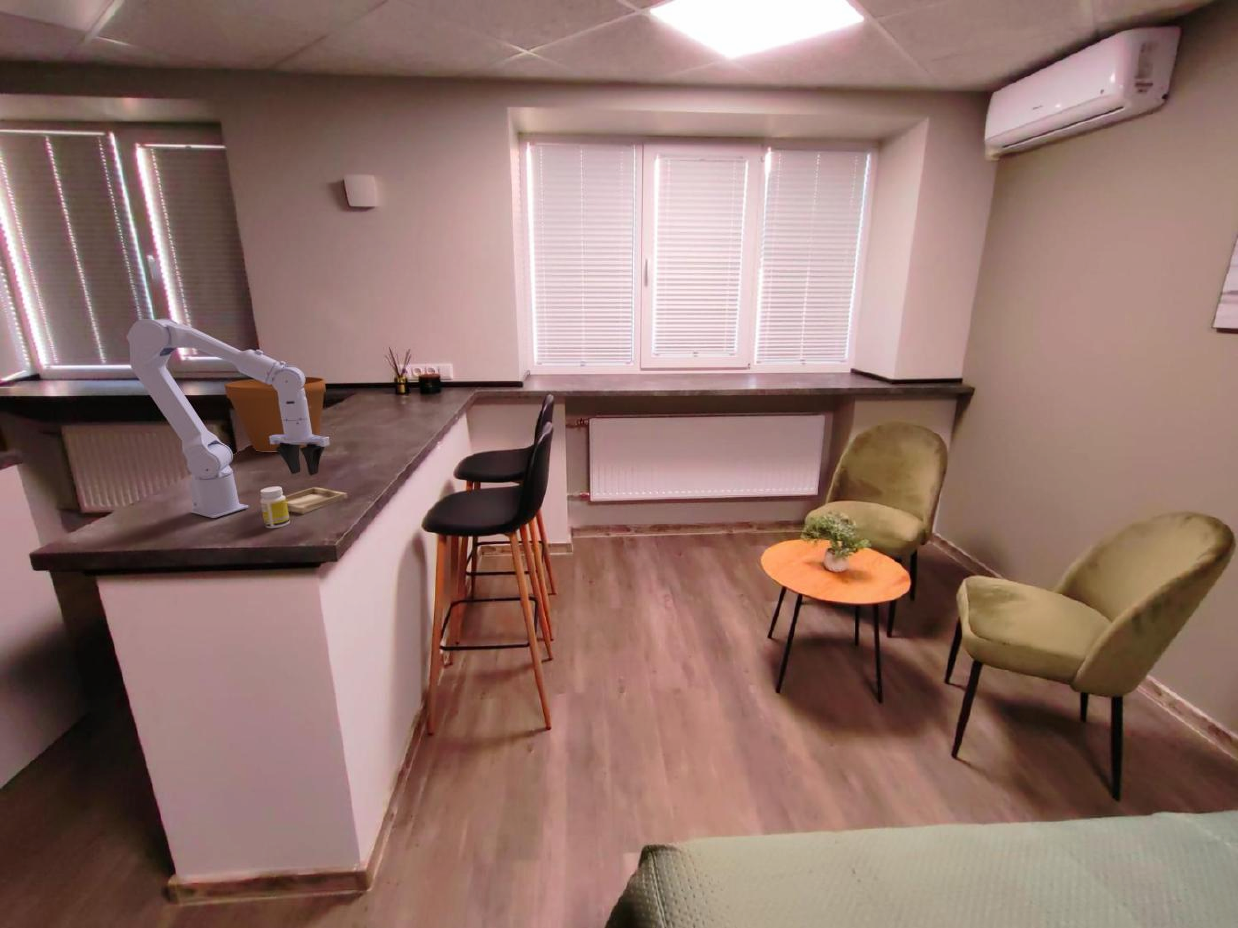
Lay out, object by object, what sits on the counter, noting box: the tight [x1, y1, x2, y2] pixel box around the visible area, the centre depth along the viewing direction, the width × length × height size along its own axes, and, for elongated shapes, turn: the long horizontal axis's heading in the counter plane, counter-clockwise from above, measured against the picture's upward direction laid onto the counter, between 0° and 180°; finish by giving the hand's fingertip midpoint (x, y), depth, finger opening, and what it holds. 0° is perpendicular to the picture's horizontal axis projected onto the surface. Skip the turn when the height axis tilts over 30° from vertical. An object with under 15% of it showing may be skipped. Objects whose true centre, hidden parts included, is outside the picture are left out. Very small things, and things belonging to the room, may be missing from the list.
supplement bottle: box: [260, 485, 291, 529], centre depth 119 cm, size 5×5×8 cm
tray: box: [284, 486, 348, 516], centre depth 133 cm, size 12×12×2 cm
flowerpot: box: [224, 376, 327, 451], centre depth 180 cm, size 28×28×24 cm
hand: (304, 473), depth 131 cm, fingers open, 4 cm apart
